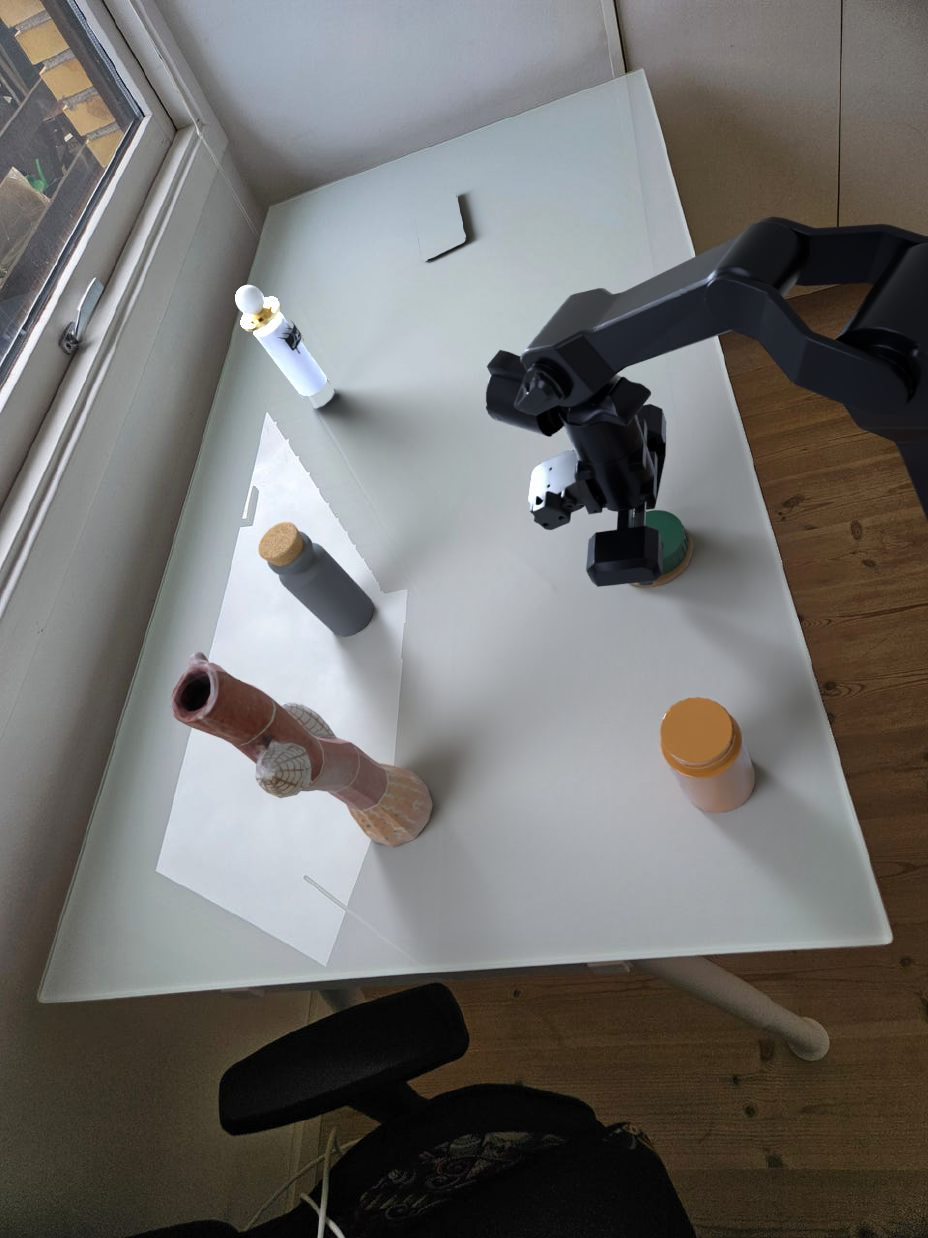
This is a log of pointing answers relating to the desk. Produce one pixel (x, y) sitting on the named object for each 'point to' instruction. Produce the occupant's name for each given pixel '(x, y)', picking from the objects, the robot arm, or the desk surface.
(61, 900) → the desk surface
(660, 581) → the coaster
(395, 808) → the vase
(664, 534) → the jar lid
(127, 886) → the desk surface
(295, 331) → the perfume bottle
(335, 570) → the bottle
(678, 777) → the honey jar
